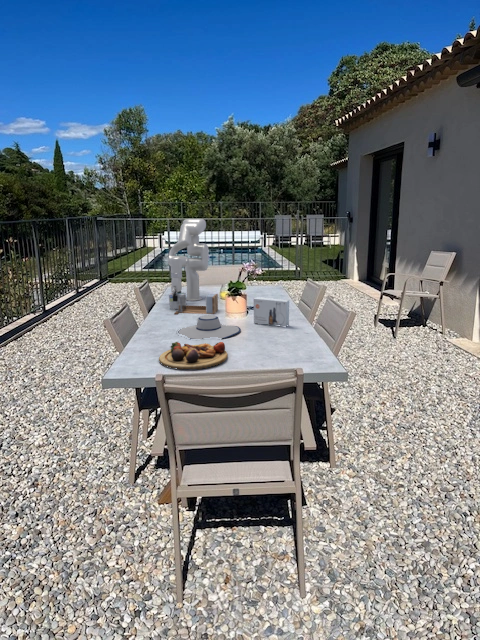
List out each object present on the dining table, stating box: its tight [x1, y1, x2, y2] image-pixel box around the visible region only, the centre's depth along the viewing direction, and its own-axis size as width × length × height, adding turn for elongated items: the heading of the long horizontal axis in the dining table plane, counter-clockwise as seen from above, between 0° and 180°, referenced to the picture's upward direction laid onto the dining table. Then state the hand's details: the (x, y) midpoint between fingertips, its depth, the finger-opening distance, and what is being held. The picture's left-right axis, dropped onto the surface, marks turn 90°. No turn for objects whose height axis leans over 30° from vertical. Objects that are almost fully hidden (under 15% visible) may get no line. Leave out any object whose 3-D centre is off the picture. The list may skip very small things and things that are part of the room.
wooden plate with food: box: [158, 341, 229, 370], centre depth 209 cm, size 32×32×8 cm
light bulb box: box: [168, 292, 187, 310], centre depth 311 cm, size 11×7×11 cm, turn 84°
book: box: [205, 293, 216, 313], centre depth 296 cm, size 9×5×11 cm, turn 171°
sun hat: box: [177, 314, 242, 340], centre depth 254 cm, size 36×36×9 cm
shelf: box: [173, 293, 219, 315], centre depth 298 cm, size 12×27×12 cm, turn 81°
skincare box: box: [253, 296, 290, 326], centre depth 266 cm, size 21×6×16 cm, turn 64°
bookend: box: [176, 295, 187, 312], centre depth 299 cm, size 9×4×10 cm, turn 171°
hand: (177, 300), depth 310 cm, fingers open, 9 cm apart
